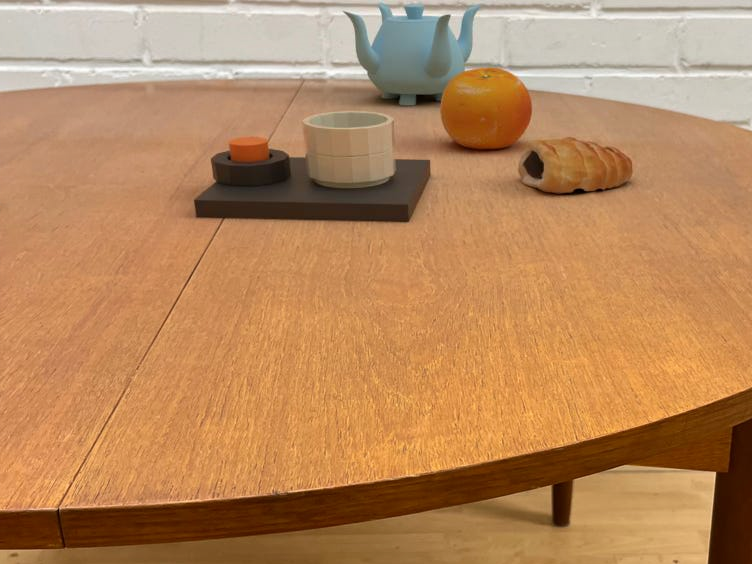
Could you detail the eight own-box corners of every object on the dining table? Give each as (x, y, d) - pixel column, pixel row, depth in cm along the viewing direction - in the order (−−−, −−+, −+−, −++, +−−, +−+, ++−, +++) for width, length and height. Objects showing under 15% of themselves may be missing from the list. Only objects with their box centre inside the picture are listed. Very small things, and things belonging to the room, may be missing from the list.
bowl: (299, 189, 74) (293, 127, 72) (318, 167, 80) (313, 110, 78) (388, 191, 74) (385, 129, 71) (401, 169, 79) (398, 111, 77)
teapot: (450, 112, 108) (449, 12, 103) (341, 105, 111) (334, 8, 106) (483, 92, 119) (483, 1, 113) (382, 86, 122) (378, -3, 116)
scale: (190, 218, 72) (184, 177, 71) (243, 172, 84) (238, 136, 82) (408, 223, 71) (407, 182, 70) (430, 176, 83) (429, 140, 82)
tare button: (226, 165, 75) (223, 144, 75) (237, 156, 78) (234, 136, 77) (264, 166, 75) (261, 145, 74) (274, 157, 78) (271, 137, 77)
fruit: (423, 116, 87) (466, 34, 86) (428, 133, 96) (467, 58, 95) (504, 163, 88) (548, 83, 87) (502, 176, 96) (542, 103, 95)
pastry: (607, 169, 85) (610, 124, 83) (648, 188, 80) (653, 141, 78) (511, 180, 82) (512, 134, 80) (548, 201, 76) (550, 151, 74)
